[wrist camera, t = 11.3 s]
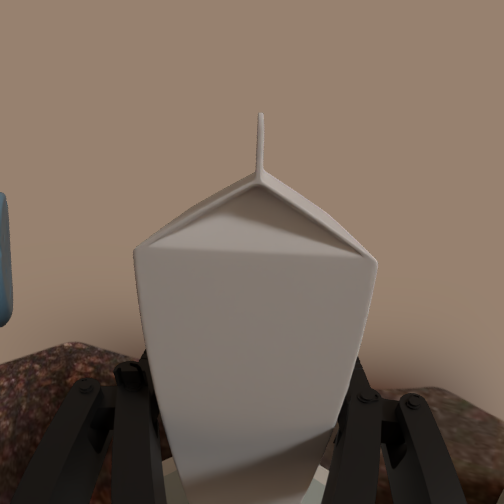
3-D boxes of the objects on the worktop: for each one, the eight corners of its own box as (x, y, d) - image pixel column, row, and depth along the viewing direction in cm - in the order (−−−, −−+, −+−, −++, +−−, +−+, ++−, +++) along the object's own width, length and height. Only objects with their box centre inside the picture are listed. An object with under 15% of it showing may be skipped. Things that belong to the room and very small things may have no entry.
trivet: (122, 484, 16) (118, 479, 16) (248, 420, 26) (248, 413, 25) (235, 607, 7) (235, 607, 6) (364, 498, 16) (369, 493, 16)
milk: (197, 524, 13) (120, 116, 6) (208, 460, 18) (186, 133, 11) (289, 529, 12) (395, 124, 5) (287, 464, 18) (334, 138, 11)
